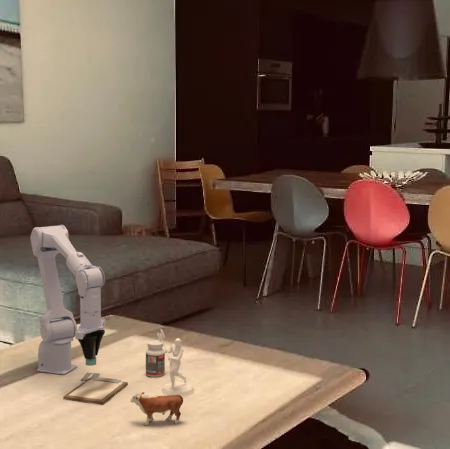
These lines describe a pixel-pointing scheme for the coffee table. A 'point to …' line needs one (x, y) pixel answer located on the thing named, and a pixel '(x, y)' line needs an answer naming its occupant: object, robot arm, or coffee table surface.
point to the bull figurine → (158, 405)
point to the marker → (91, 361)
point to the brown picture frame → (96, 390)
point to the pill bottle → (155, 359)
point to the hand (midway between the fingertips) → (91, 356)
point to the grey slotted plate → (90, 376)
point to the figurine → (175, 370)
